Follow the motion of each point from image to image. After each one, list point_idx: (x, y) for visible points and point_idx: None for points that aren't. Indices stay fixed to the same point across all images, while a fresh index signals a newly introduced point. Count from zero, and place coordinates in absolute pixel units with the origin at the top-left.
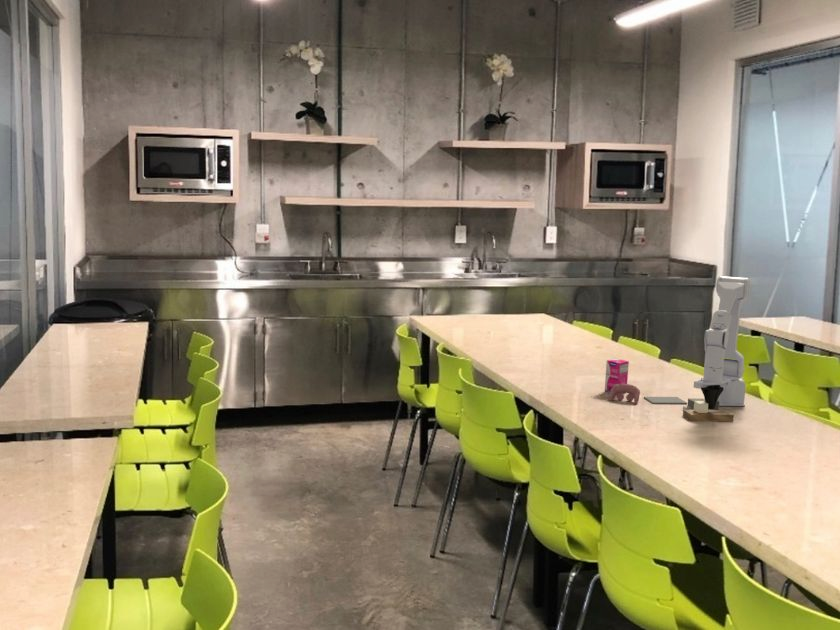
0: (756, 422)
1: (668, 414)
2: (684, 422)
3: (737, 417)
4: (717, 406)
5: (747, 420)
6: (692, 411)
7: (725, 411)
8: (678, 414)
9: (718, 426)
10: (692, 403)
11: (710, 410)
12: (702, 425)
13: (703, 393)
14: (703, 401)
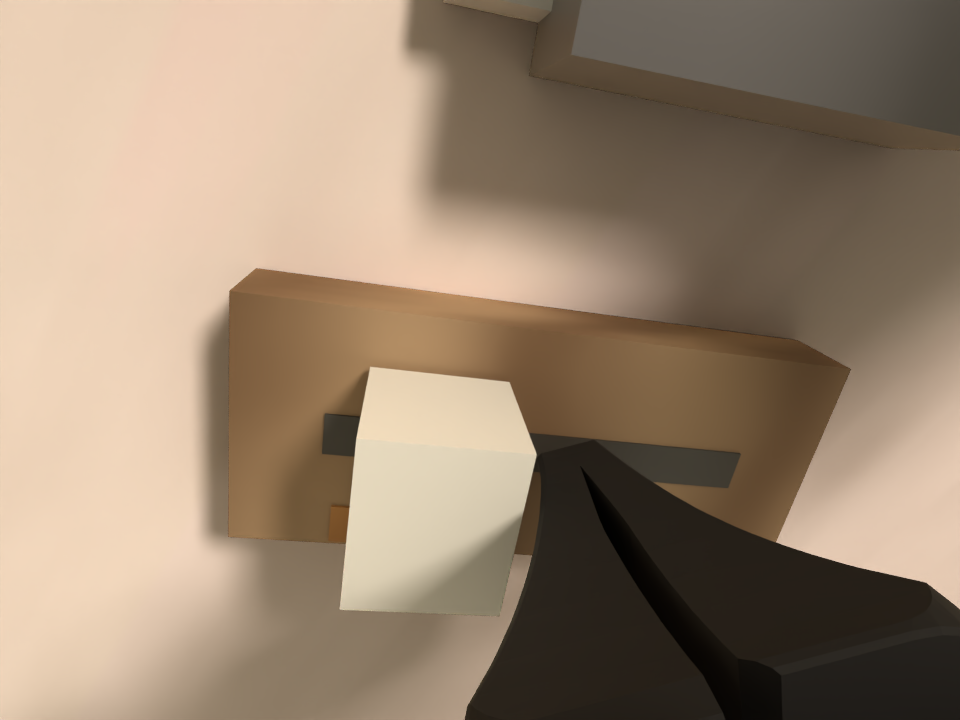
0: (898, 573)
1: (54, 161)
2: (140, 531)
3: (886, 409)
4: (937, 147)
5: (881, 513)
6: (331, 398)
7: (790, 441)
8: (225, 185)
9: (445, 660)
10: (565, 28)
11: (632, 379)
12: (298, 629)
13: (518, 624)
14: (518, 482)
